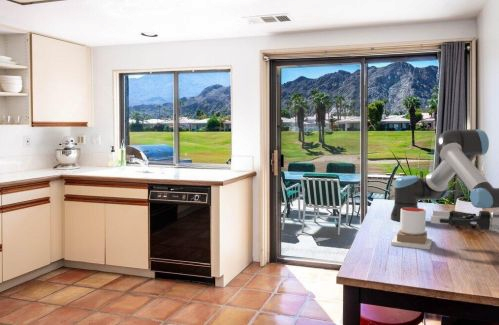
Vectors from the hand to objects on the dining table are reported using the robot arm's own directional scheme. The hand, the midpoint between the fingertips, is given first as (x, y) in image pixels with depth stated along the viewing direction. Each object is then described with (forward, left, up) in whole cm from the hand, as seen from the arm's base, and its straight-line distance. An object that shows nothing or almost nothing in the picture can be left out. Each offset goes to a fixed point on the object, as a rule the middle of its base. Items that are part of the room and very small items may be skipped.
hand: (431, 216), depth 184 cm
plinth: (0, -8, -12) cm, 14 cm away
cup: (0, -8, -8) cm, 11 cm away
